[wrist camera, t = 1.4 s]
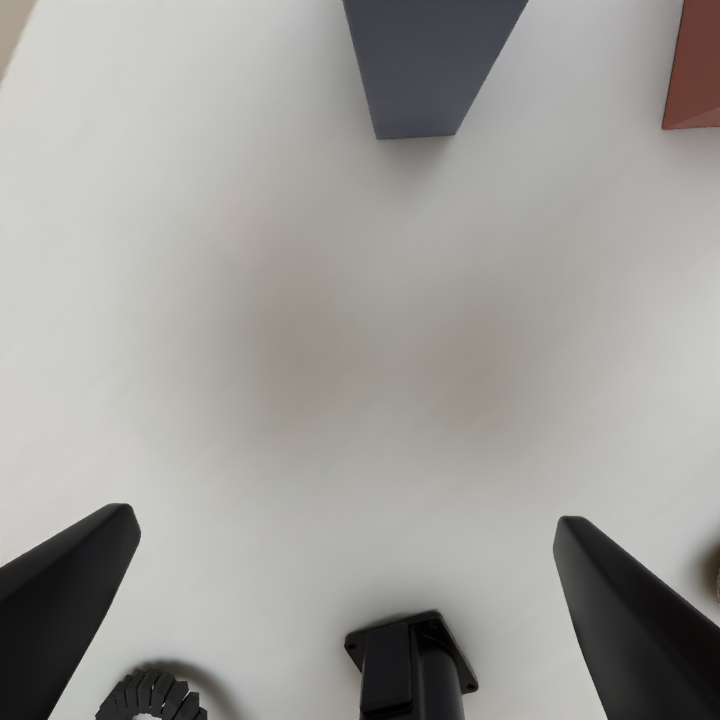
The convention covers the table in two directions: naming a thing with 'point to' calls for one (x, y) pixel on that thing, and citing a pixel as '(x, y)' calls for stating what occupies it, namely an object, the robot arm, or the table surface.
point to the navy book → (426, 59)
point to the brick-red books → (696, 69)
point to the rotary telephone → (151, 698)
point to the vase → (718, 588)
